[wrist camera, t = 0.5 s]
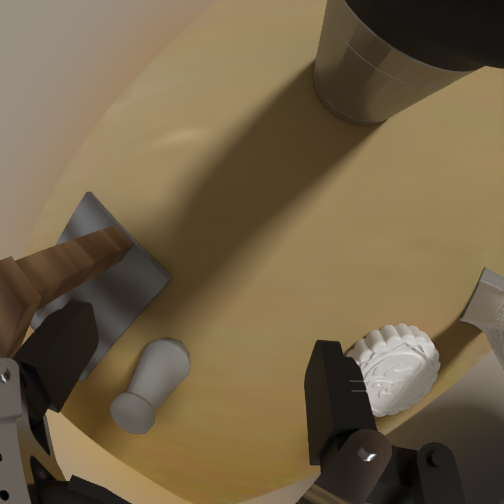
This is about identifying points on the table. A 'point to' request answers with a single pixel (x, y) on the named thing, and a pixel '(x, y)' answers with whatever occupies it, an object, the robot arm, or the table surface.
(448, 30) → the robot arm
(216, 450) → the table surface
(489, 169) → the table surface
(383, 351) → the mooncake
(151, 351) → the salt shaker
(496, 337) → the skyscraper
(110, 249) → the gateway
